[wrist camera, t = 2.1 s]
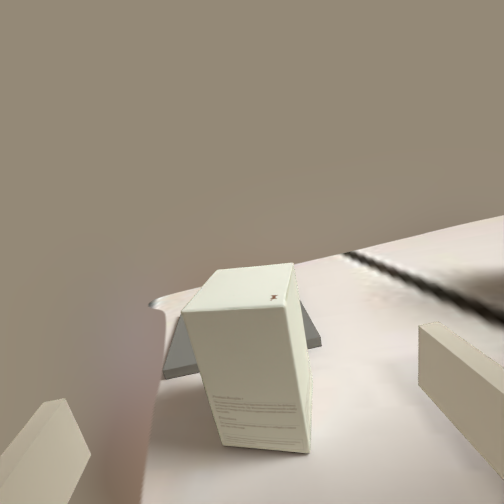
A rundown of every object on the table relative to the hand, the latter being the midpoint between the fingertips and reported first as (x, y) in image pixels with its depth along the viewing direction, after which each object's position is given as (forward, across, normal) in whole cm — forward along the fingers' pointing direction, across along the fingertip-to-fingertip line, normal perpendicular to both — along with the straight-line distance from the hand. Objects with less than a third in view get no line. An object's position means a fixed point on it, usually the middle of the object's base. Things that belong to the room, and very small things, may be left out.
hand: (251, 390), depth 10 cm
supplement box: (+11, 0, -13) cm, 17 cm away
